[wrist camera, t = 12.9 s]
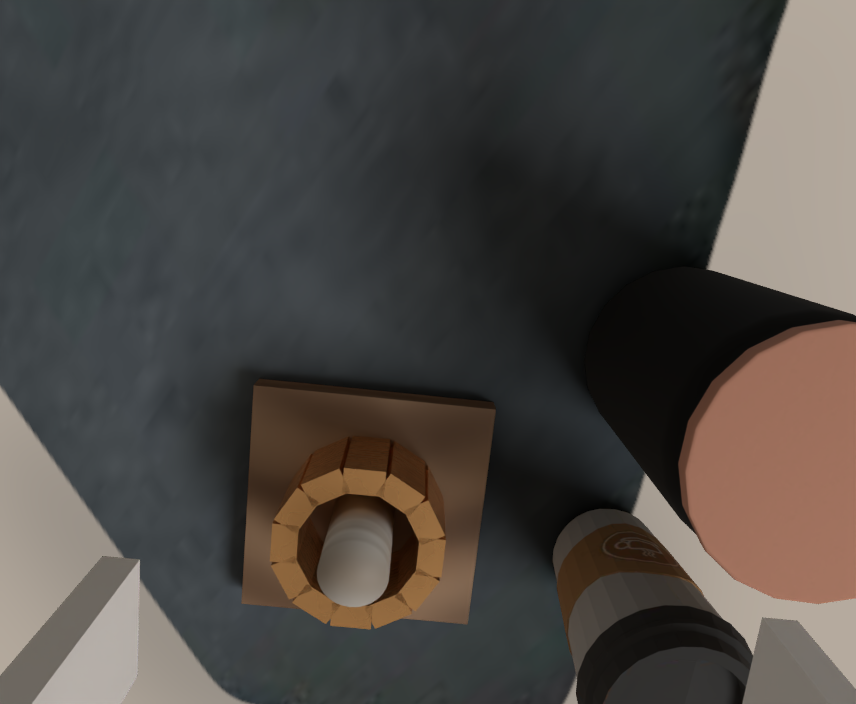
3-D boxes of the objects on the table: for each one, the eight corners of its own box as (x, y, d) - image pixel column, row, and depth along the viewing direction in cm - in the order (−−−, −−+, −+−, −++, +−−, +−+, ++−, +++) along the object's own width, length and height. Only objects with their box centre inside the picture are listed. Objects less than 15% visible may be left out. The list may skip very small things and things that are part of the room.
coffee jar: (606, 462, 45) (722, 640, 28) (557, 298, 43) (650, 379, 25) (778, 408, 44) (1008, 556, 27) (737, 238, 42) (960, 280, 25)
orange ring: (292, 429, 43) (276, 461, 38) (450, 445, 43) (453, 478, 38) (283, 572, 45) (266, 619, 40) (433, 586, 45) (434, 635, 40)
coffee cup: (681, 500, 46) (802, 649, 31) (651, 619, 48) (751, 813, 33) (549, 480, 45) (609, 622, 31) (524, 600, 47) (568, 788, 33)
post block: (259, 378, 44) (218, 427, 35) (493, 402, 44) (510, 456, 36) (247, 590, 47) (206, 684, 38) (466, 610, 47) (475, 708, 39)
